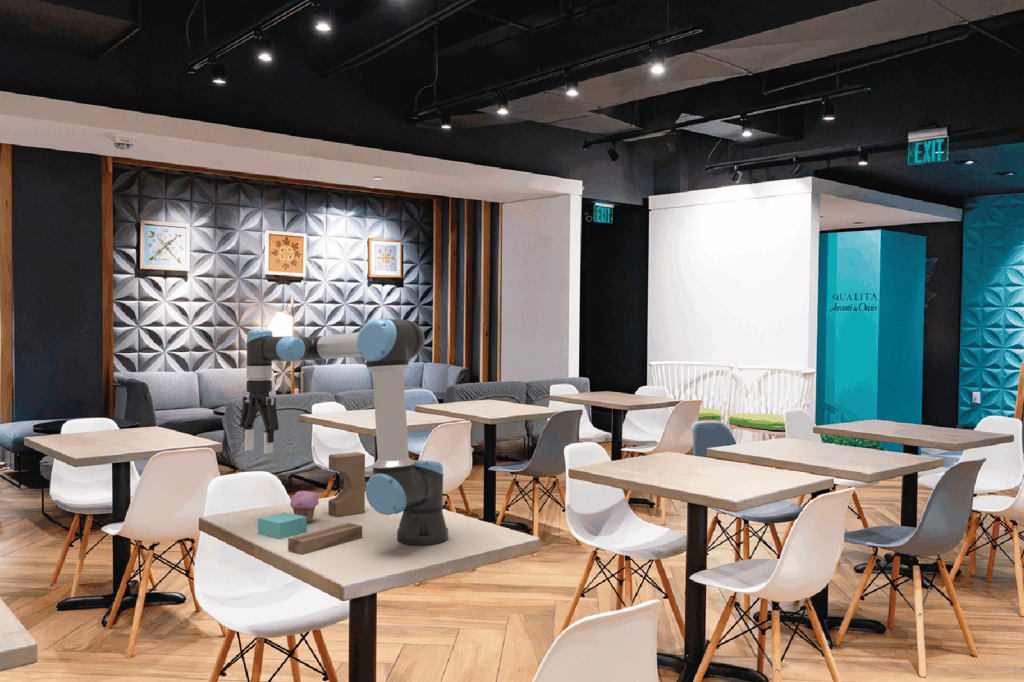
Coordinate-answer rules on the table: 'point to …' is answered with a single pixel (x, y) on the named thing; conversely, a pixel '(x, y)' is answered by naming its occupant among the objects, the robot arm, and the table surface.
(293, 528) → the teal block
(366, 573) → the table surface
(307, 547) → the walnut board
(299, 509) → the cupcake
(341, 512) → the decorative block
